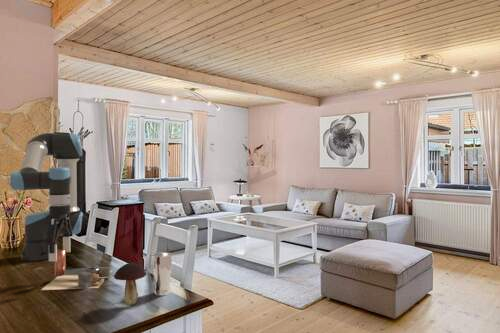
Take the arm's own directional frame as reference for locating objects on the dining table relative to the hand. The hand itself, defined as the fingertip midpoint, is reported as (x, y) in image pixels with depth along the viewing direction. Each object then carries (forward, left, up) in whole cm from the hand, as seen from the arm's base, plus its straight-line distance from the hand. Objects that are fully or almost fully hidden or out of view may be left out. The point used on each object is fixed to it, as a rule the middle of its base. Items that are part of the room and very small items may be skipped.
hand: (60, 256), depth 142 cm
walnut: (+5, +14, -10) cm, 18 cm away
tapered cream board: (0, +7, -11) cm, 14 cm away
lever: (0, +9, -9) cm, 12 cm away
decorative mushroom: (+24, +33, -12) cm, 43 cm away
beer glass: (+14, +43, -12) cm, 47 cm away
